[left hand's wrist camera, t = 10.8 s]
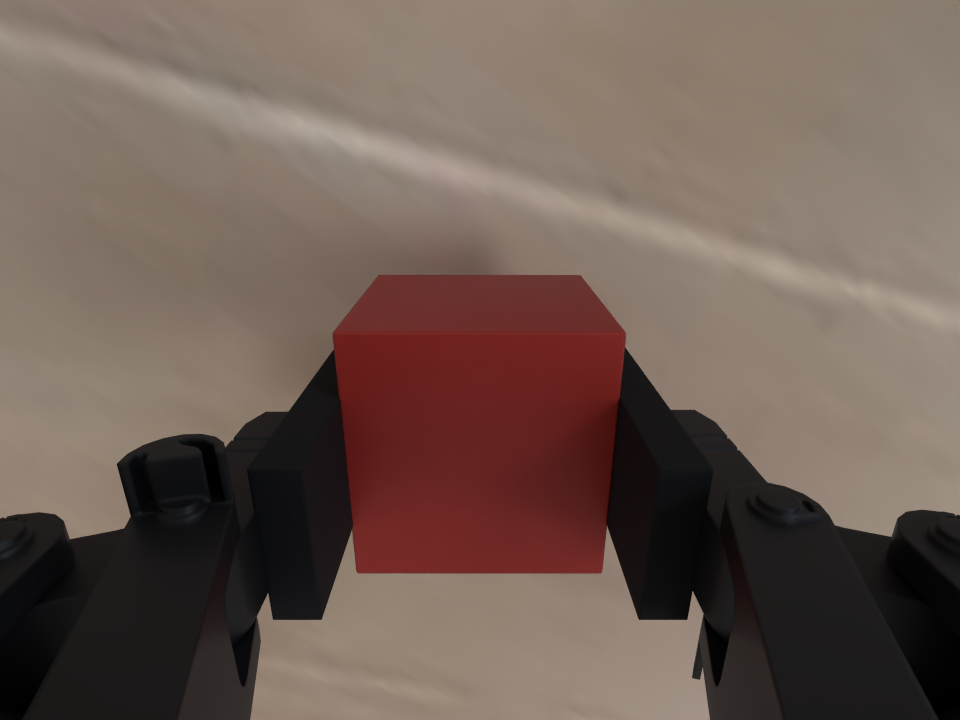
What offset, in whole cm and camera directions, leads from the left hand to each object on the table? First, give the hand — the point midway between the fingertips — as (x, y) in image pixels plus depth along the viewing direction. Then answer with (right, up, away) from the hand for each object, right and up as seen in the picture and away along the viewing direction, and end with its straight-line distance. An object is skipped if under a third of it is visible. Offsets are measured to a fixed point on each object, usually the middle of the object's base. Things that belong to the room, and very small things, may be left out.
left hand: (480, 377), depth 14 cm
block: (0, 0, 0) cm, 0 cm away
